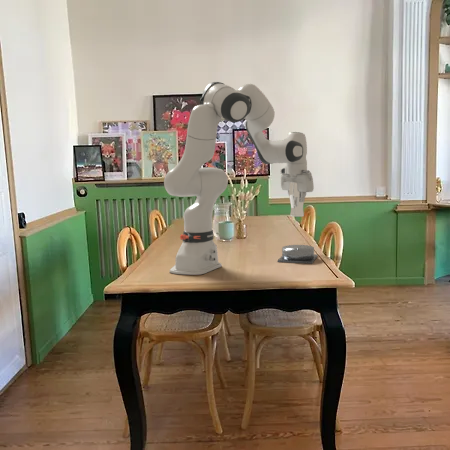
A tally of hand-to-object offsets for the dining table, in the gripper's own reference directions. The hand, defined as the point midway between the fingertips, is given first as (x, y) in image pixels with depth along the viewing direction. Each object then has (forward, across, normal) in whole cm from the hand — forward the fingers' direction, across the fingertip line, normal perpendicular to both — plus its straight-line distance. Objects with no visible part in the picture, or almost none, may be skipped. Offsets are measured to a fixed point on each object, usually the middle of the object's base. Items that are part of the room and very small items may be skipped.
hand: (296, 201), depth 215 cm
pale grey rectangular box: (+7, 0, 0) cm, 7 cm away
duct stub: (+22, -14, +9) cm, 28 cm away
